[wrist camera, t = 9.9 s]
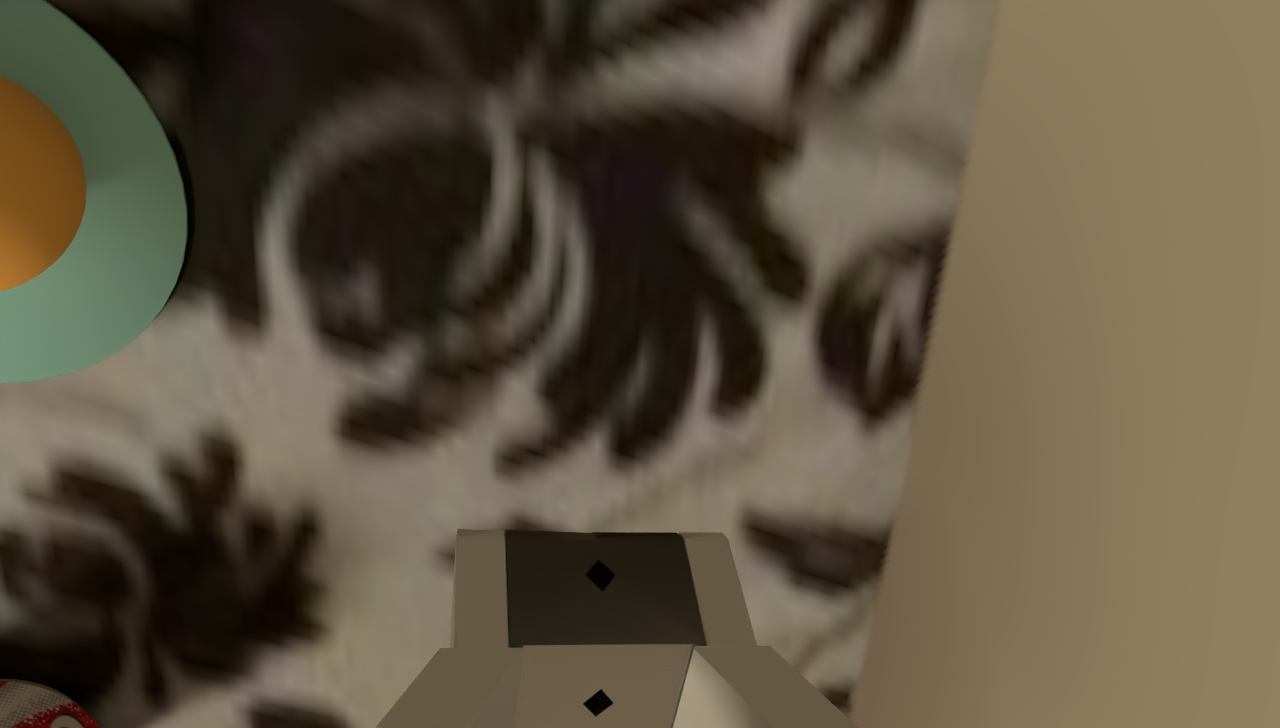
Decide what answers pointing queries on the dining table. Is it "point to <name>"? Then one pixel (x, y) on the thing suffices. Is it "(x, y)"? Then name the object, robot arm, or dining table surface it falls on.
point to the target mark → (92, 203)
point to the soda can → (39, 707)
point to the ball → (35, 186)
